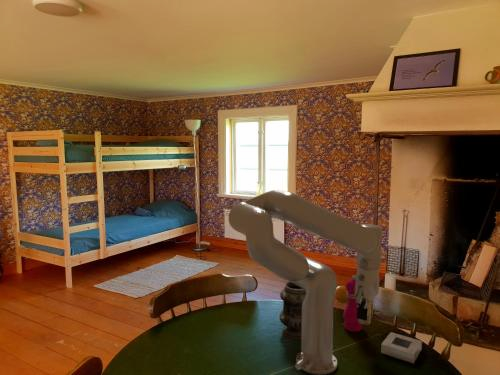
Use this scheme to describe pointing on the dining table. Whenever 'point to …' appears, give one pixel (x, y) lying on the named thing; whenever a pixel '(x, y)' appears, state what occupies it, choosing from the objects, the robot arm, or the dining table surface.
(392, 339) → the jig
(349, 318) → the pepper mill
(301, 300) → the apothecary jar
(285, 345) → the dining table surface
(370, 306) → the cylinder
